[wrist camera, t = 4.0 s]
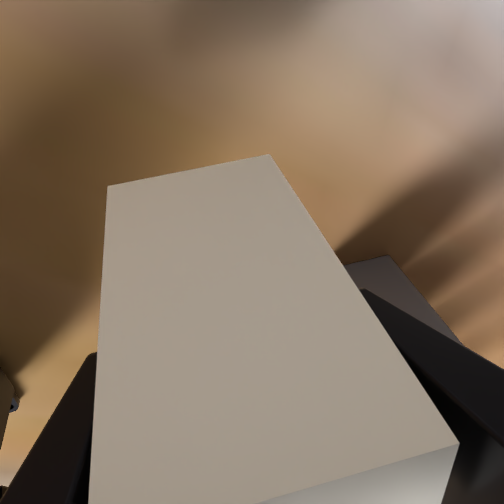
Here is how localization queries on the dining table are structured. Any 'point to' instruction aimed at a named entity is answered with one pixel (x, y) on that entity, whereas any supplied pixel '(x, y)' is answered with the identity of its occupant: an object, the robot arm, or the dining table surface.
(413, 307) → the domino
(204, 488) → the domino head
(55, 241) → the dining table surface
